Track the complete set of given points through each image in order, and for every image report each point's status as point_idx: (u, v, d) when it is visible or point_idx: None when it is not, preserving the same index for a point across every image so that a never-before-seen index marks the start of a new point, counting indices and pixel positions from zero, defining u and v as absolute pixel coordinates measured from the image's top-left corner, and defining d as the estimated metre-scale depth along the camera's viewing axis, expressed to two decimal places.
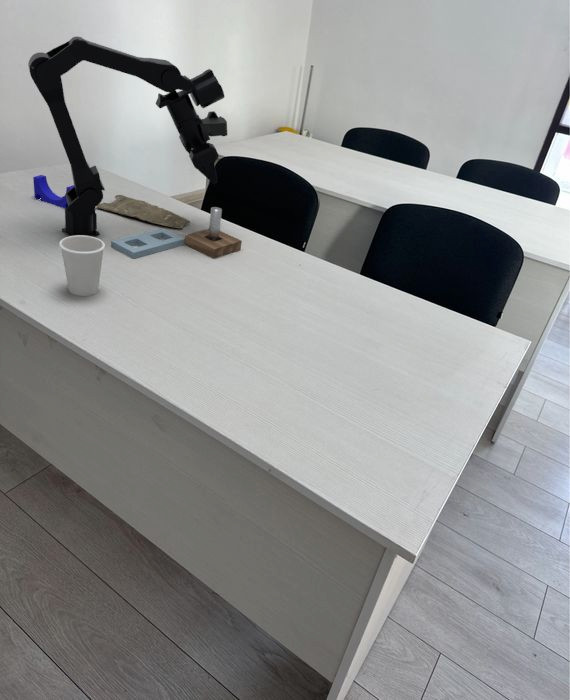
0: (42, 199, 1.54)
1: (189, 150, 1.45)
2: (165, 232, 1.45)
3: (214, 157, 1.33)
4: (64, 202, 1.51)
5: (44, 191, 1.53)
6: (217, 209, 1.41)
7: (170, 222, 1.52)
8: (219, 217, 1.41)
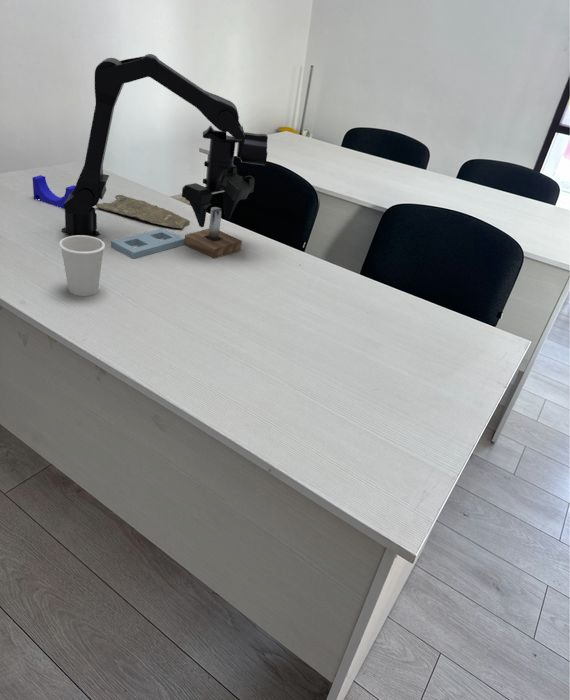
0: (41, 199, 1.53)
1: (224, 192, 1.44)
2: (165, 232, 1.45)
3: (196, 201, 1.31)
4: (63, 202, 1.51)
5: (43, 192, 1.53)
6: (217, 209, 1.41)
7: (170, 222, 1.52)
8: (219, 217, 1.41)
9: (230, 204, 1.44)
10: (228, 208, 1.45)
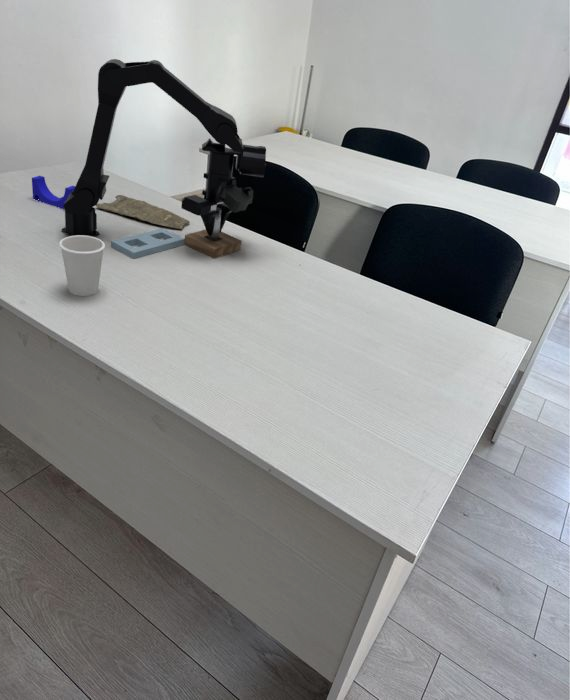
0: (40, 200, 1.53)
1: None
2: (165, 232, 1.45)
3: (195, 212, 1.33)
4: (62, 203, 1.51)
5: (42, 192, 1.52)
6: (217, 209, 1.41)
7: (169, 222, 1.52)
8: (219, 217, 1.41)
9: (221, 217, 1.43)
10: None
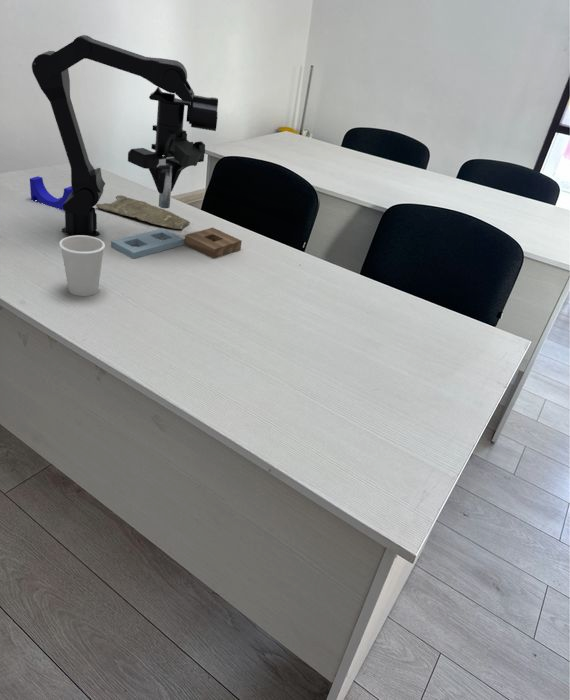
0: (39, 201, 1.52)
1: (166, 161, 1.36)
2: (165, 232, 1.45)
3: (141, 165, 1.25)
4: (61, 203, 1.50)
5: (40, 193, 1.52)
6: (168, 165, 1.33)
7: (169, 223, 1.52)
8: (170, 173, 1.34)
9: (172, 174, 1.36)
10: None
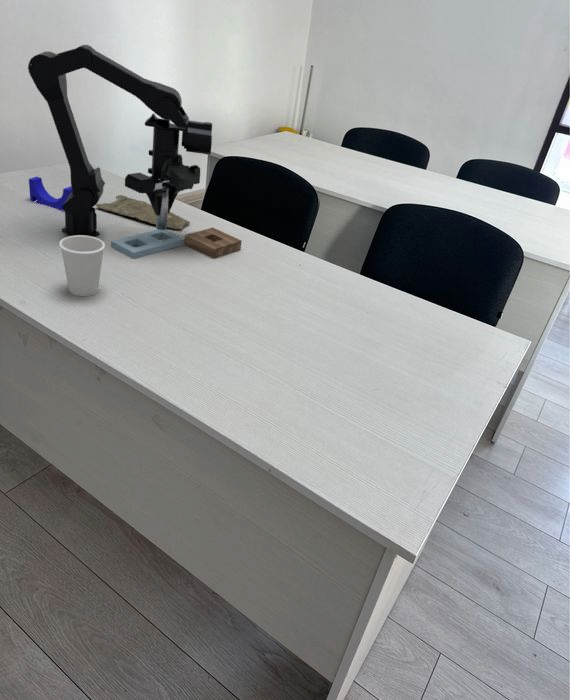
0: (38, 201, 1.52)
1: (163, 184, 1.39)
2: (165, 232, 1.45)
3: (138, 190, 1.28)
4: (60, 204, 1.50)
5: (40, 193, 1.51)
6: (164, 188, 1.36)
7: (169, 223, 1.52)
8: (166, 196, 1.37)
9: (169, 196, 1.39)
10: None
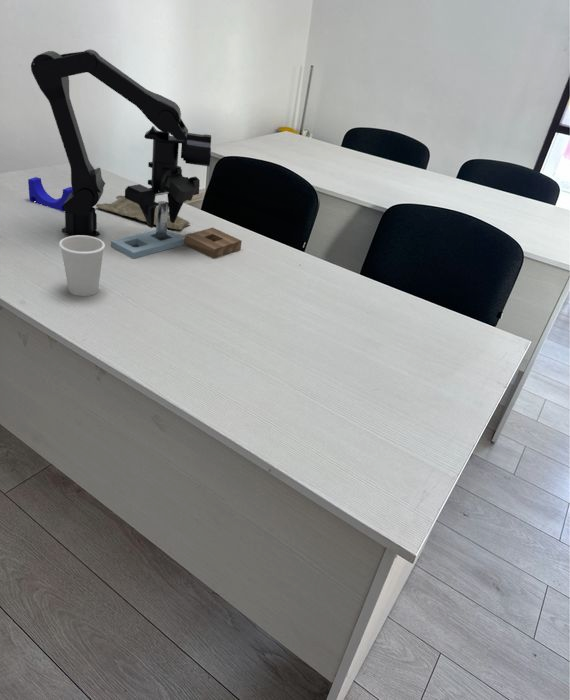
0: (37, 202, 1.52)
1: (169, 194, 1.42)
2: None
3: (138, 202, 1.29)
4: (60, 204, 1.50)
5: (39, 194, 1.51)
6: (164, 203, 1.38)
7: (169, 223, 1.51)
8: (166, 211, 1.39)
9: (174, 206, 1.41)
10: (172, 210, 1.42)
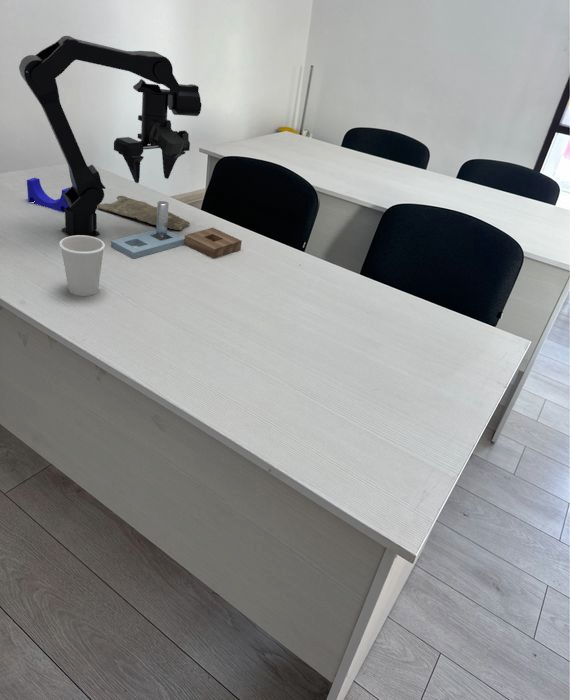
0: (36, 202, 1.51)
1: None
2: None
3: (126, 153, 1.30)
4: (59, 205, 1.49)
5: (38, 194, 1.50)
6: (164, 203, 1.38)
7: (169, 223, 1.51)
8: (166, 211, 1.39)
9: (168, 161, 1.43)
10: (166, 165, 1.44)
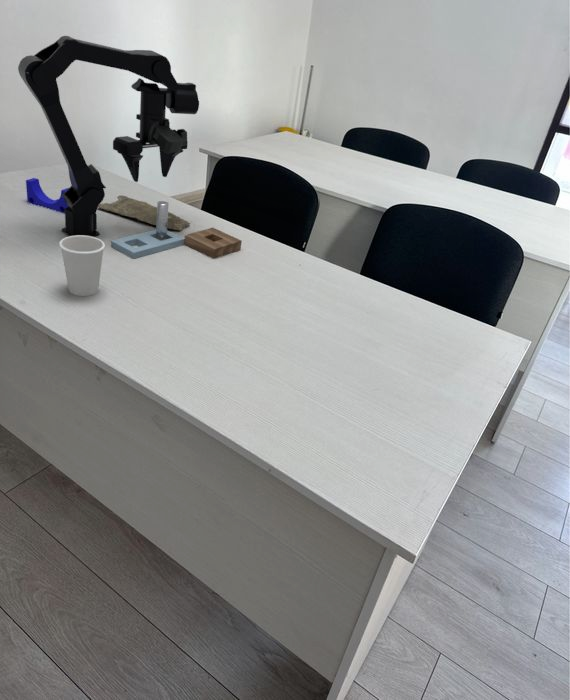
0: (35, 202, 1.51)
1: (161, 148, 1.44)
2: None
3: (125, 152, 1.31)
4: (58, 205, 1.49)
5: (37, 194, 1.50)
6: (163, 203, 1.38)
7: (169, 223, 1.51)
8: (166, 211, 1.39)
9: (166, 160, 1.44)
10: (164, 164, 1.44)
